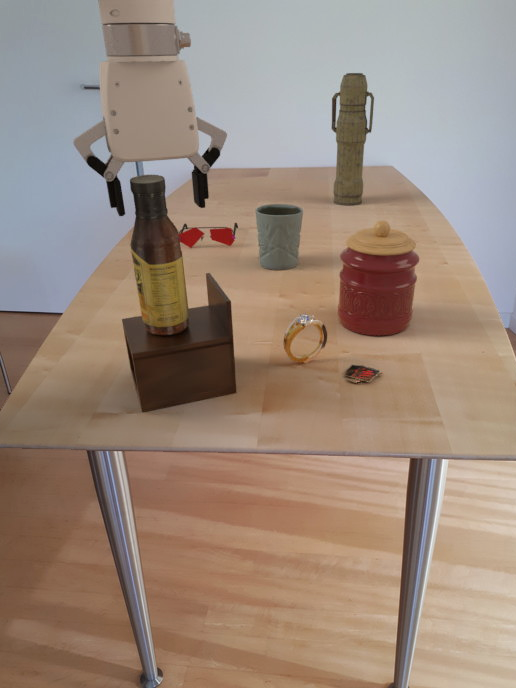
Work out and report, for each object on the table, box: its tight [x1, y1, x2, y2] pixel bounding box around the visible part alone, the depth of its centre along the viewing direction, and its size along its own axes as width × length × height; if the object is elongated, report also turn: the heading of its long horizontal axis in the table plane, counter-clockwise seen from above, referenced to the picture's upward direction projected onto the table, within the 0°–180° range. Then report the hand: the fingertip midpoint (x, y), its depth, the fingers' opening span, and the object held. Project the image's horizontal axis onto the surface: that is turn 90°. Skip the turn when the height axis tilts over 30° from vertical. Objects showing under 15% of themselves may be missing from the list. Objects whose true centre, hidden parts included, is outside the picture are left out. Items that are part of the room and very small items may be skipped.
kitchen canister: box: [337, 220, 420, 337], centre depth 92 cm, size 13×13×18 cm
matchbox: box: [344, 364, 383, 384], centre depth 80 cm, size 5×5×1 cm
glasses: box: [178, 222, 239, 249], centre depth 137 cm, size 14×16×5 cm
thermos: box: [331, 72, 375, 206], centre depth 160 cm, size 9×12×35 cm
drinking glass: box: [255, 203, 304, 271], centre depth 119 cm, size 10×10×12 cm
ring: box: [282, 312, 328, 364], centre depth 82 cm, size 7×3×8 cm, turn 111°
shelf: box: [121, 272, 237, 413], centre depth 76 cm, size 13×11×14 cm
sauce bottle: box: [129, 174, 189, 335], centre depth 69 cm, size 7×6×20 cm
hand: (161, 209), depth 67 cm, fingers open, 9 cm apart
